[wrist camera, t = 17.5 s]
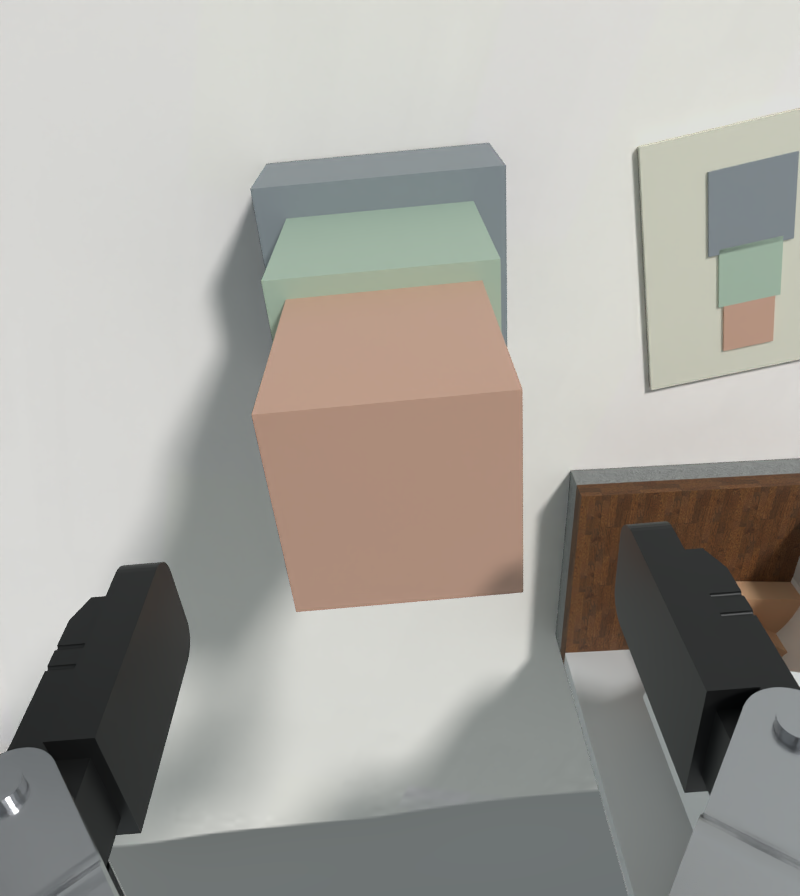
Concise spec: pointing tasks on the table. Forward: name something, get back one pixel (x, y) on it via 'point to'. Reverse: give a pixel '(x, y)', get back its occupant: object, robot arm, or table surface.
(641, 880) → the white square tower
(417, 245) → the brick sage
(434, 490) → the brick terracotta
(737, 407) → the table surface
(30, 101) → the table surface
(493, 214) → the base brick
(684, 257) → the page
